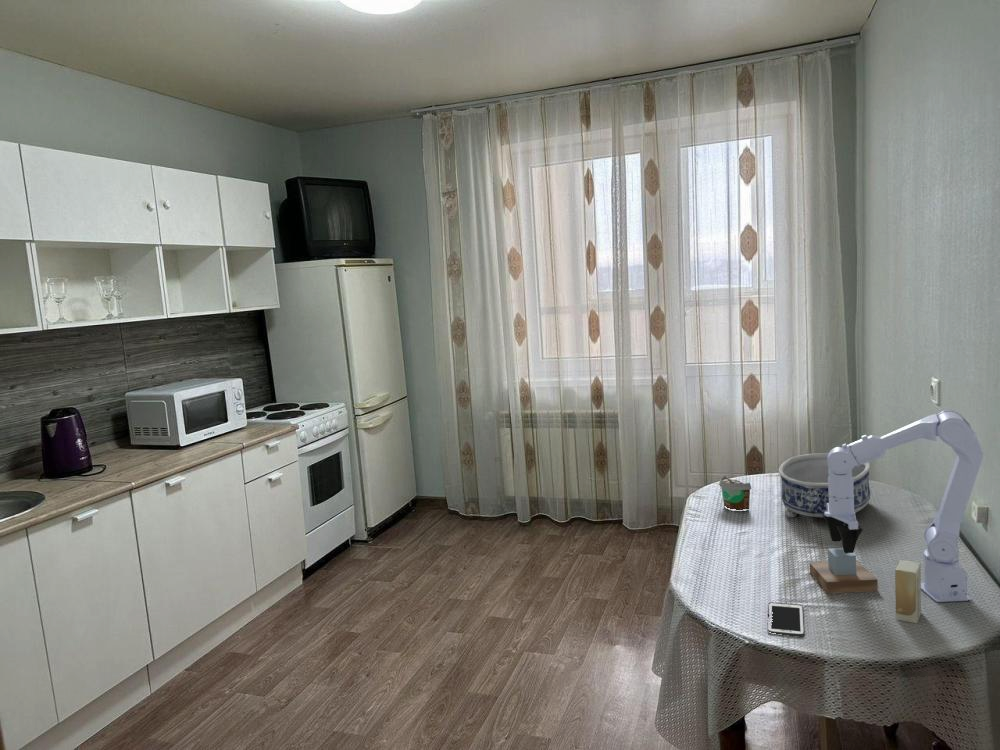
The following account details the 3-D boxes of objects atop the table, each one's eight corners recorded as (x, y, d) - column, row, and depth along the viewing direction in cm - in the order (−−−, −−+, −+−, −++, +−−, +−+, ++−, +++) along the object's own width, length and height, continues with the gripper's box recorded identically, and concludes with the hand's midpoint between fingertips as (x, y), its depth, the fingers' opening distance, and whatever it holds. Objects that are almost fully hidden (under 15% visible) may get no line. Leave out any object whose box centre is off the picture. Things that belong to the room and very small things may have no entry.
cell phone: (802, 608, 168) (802, 604, 167) (804, 639, 154) (804, 634, 154) (768, 605, 171) (768, 601, 170) (767, 635, 157) (767, 631, 157)
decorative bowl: (861, 536, 205) (860, 488, 203) (767, 526, 220) (765, 480, 218) (877, 493, 240) (876, 451, 238) (795, 486, 255) (793, 447, 253)
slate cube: (856, 574, 175) (855, 555, 174) (835, 575, 176) (835, 556, 175) (848, 566, 180) (848, 547, 179) (828, 567, 181) (827, 548, 180)
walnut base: (877, 590, 172) (877, 579, 171) (827, 593, 173) (827, 582, 173) (856, 570, 184) (856, 559, 183) (809, 573, 185) (809, 562, 184)
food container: (712, 506, 242) (711, 478, 241) (726, 502, 245) (724, 475, 243) (738, 515, 231) (737, 486, 230) (752, 511, 233) (751, 483, 232)
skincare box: (900, 608, 163) (899, 558, 161) (921, 612, 160) (921, 562, 158) (894, 620, 158) (894, 568, 156) (916, 624, 155) (916, 572, 154)
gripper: (814, 487, 183) (815, 537, 185) (836, 505, 169) (837, 558, 170) (841, 485, 182) (843, 535, 184) (866, 503, 168) (867, 557, 170)
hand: (842, 546), depth 177 cm, fingers open, 7 cm apart
